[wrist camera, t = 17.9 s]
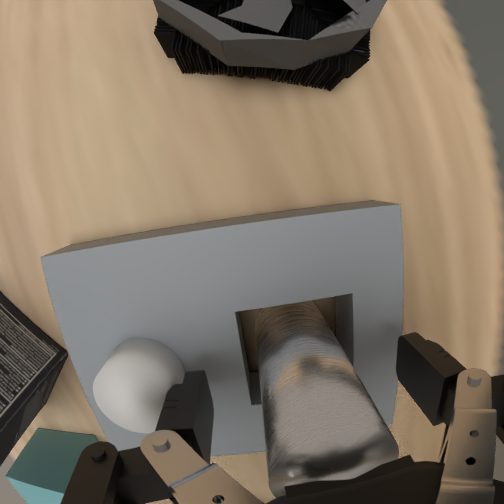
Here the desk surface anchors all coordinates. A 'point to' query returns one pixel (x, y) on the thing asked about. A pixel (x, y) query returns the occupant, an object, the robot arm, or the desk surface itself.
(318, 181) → the desk surface
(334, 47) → the cpu cooler
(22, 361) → the small box
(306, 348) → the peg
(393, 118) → the desk surface
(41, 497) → the teal cube
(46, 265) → the peg board
